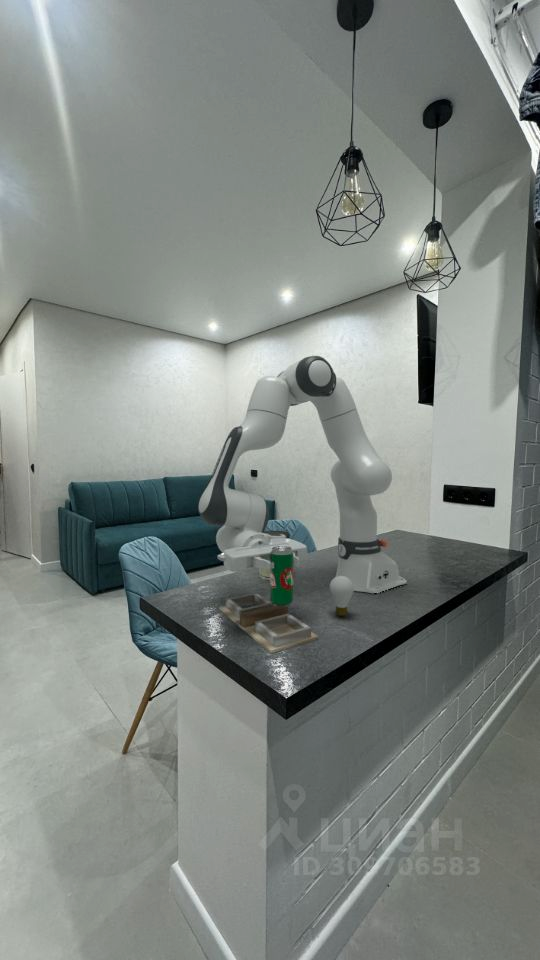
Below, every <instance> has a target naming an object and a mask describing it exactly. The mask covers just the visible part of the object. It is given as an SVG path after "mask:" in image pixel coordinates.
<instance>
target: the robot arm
mask: <svg viewBox="0 0 540 960" xmlns="http://www.w3.org/2000/svg"><path fill="white" fill-rule="evenodd" d="M249 398H250V399H249V403H248V406H247V409H246V414H245V417H244V419H243V421H242V422H241V424H240V425H239V426H235V427H233V428H232V430H231V431H230V432H229V434H228V435H227V437H226V439H225V442H224V444H223V446H222V449H221V451H220V453H219V456H218V458H217V461H216V464H215V465H214V468H213V470H212V473H211V476H210V478H209V480H208V482H207V485H206V486H205V488H204V490H203V492H202V494H201V496H200V498H199V501H198V506H197V507H198V509H197V510H198V513H199V515H200V518H201V519H202V520H203V521H204V522H205V523H206V524H207V525H210V526H218V527H219V526H220V528H219V529H218V530H217V533H216V536H215V541H216V545H217V547H218V550H220V551H221V553H220V554H218V555H216V556H217V560H219V561H221V562H223V566H224V567H225V569H227V570H229V571H230V572H232V573H233V572H234V573H240V572H245V571H252V570H259V569H260V568H261V569H266V570H272V569H274V561H272V560H270V552H271V551H272V547H276V546H288V547H291V548H292V549H291V550H292V551H293V567H294V566H295V567H296V566H299V565H300V563H301V562H306V560H307V559H308V547H307V545H306V544H305V543H302V542H300V541H298V540H294V539H292V538H289V539H288V538H286V536H285V535H283V534H265V533H263V532H264V531H266V529H267V526H268V523H269V520H270V509H269V507H268V503H267V501H266V499H265V497H264V496H262V495H259V494H255V493H250V492H246V491H242V490H238V489H233V488H230V486H229V484H230V482H231V479H232V476H233V474H234V471H235V469H236V466H237V465H238V461H239V458H240V457H241V456H242V455H243V454H244V453H246V452H249V451H256V450H257V451H258V450H265V449H268V448H271V447H274V446H275V445H276V444H278V443H279V442H280V441H281V440H282V438H283V436H284V433H285V429H286V426H287V425H286V424H287V420H288V414H289V409H290V407H294V406H299V405H301V404H305V403H308V402H311V403H312V404H313V406H314V407H315V409H316V411H317V415H318V418H319V421H320V423H321V426H322V429H323V432H324V435H325V438H326V442H327V444H328V446H329V447H330V449H332V450H333V452H334V453H335V455H336V457H337V458H338V461H336V462H335V463H334V464H333V466H332V467H331V470H330V479H331V482H332V483H333V485H334V488H335V493H336V499H337V504H338V509H339V537H338V539H337V542H338V543H337V551H338V552H337V553H338V560H337V561H338V562H337V568H336V573H335V577H338V576H345V577H347V578H349V579H350V580H351V582H352V583H353V586H354V592H363V593H367V594H374V593H377V594H381V593H383V592H382V591H384V592H386V591H385V590H387V591H389V590H388V589H390V588H393V587H396V586H398V585H401V584H404V583H406V582H407V583H408V581H407V579H405V578H404V577H402V576H401V575H400V571H399V567H398V564H397V563H396V561H395V560H393V559H392V558H391V557H390V556H389V555H387V554H386V553H385V552H383V550H382V548H381V547H383V548H384V549H385V548H387V547H388V546H389V542H388V541H387V540H384V539H380V540H379V539H378V515H377V514H378V513H377V510H376V509H375V507H374V505H373V502H372V498H371V496H376V495H380V494H383V493H384V492H386V491H387V490H388V489H389V487H390V485H391V484H392V480H393V475H392V470H391V468H390V466H389V465H388V464H387V463H386V462H385V461H383V459H382V458H381V457H380V456H379V454H378V453H377V450H375V448H374V446H373V444H372V443H371V441H370V440H369V437H368V436H367V433H366V431H365V430H364V426H363V423H362V420H361V417H360V415H359V412H358V408H357V405H356V403H355V400H354V398H353V395H352V393H351V391H350V389H349V387H348V386H347V384H346V382H345V380H343V379H342V378H341V377H337V375H336V373H335V371H334V369H333V367H332V365H331V364H330V363H329V362H328V360H327V359H325V358H324V357H323V356H319V355H311V356H306V357H304V358H302V359H301V360H298V361H295V362H294V363H292V364H290V365H289V366H288V367H287V368H286V369H284V370H283V371H281V372H280V373H279V374H278V375H277V376H276V375H265V376H262V377H261V378H259V379H258V380H257V381H256V383H255V385H254V388H253V390H252V393H251V396H250V397H249ZM335 577H334V578H335ZM401 579H403V580H401ZM380 592H381V593H380Z"/></svg>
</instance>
